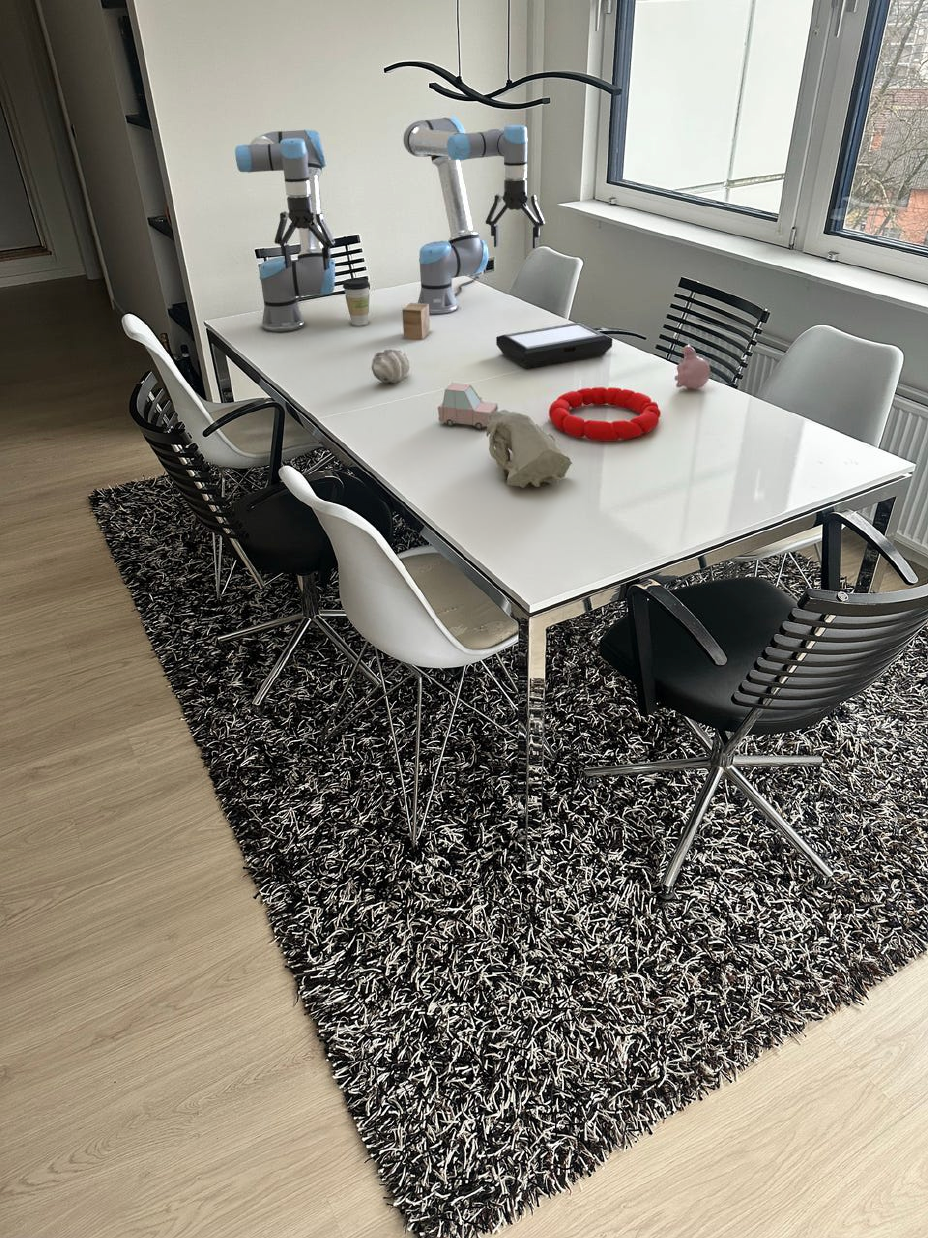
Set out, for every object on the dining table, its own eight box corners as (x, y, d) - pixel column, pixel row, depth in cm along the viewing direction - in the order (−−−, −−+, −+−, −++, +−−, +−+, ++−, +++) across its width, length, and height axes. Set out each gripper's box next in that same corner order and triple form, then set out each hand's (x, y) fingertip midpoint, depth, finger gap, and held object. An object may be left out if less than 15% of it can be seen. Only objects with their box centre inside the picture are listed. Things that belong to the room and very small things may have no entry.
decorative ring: (589, 435, 224) (684, 402, 234) (527, 398, 247) (617, 369, 256) (589, 461, 229) (683, 427, 238) (529, 422, 251) (617, 393, 260)
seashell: (364, 381, 275) (361, 349, 270) (407, 372, 281) (405, 341, 275) (377, 391, 268) (374, 358, 262) (421, 382, 273) (420, 349, 268)
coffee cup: (372, 326, 323) (368, 283, 314) (345, 327, 323) (340, 284, 315) (374, 318, 331) (371, 276, 322) (348, 319, 331) (344, 277, 323)
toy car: (488, 432, 240) (488, 396, 234) (436, 426, 244) (434, 390, 239) (499, 419, 247) (499, 384, 241) (448, 413, 252) (447, 379, 246)
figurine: (665, 387, 264) (669, 347, 257) (693, 380, 268) (698, 340, 261) (686, 396, 257) (690, 355, 250) (714, 388, 262) (720, 348, 255)
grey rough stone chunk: (496, 517, 219) (521, 479, 201) (463, 429, 225) (484, 384, 207) (557, 503, 225) (586, 465, 206) (523, 417, 231) (549, 373, 212)
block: (422, 339, 309) (420, 310, 303) (404, 338, 311) (402, 309, 305) (430, 332, 316) (428, 303, 310) (412, 330, 318) (410, 302, 312)
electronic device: (524, 351, 275) (496, 334, 291) (524, 371, 279) (496, 353, 294) (612, 335, 286) (581, 320, 301) (611, 355, 289) (580, 338, 304)
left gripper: (341, 194, 273) (348, 266, 285) (269, 192, 280) (279, 263, 292) (330, 198, 267) (338, 272, 279) (257, 196, 274) (267, 268, 286)
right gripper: (554, 177, 294) (552, 245, 306) (481, 176, 300) (482, 243, 312) (550, 180, 288) (548, 250, 300) (476, 179, 294) (477, 247, 306)
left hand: (307, 267), depth 286 cm, fingers open, 13 cm apart
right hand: (515, 246), depth 306 cm, fingers open, 13 cm apart
